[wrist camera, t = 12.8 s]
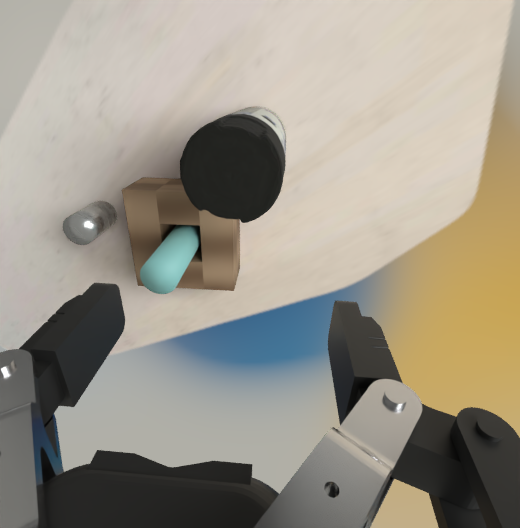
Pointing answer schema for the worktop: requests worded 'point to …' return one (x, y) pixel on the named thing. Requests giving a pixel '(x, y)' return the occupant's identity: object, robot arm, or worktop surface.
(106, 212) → the short pin
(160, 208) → the socket block
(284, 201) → the worktop surface
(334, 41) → the worktop surface
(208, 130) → the spray can
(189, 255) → the long pin
